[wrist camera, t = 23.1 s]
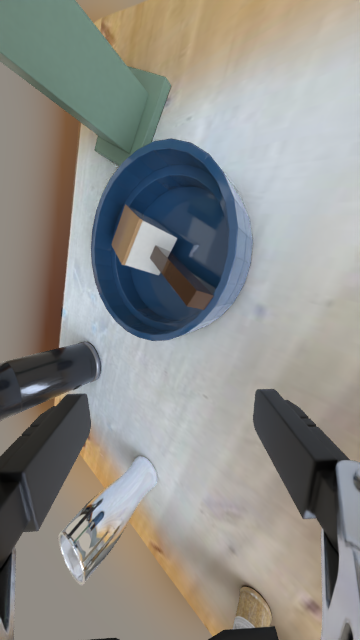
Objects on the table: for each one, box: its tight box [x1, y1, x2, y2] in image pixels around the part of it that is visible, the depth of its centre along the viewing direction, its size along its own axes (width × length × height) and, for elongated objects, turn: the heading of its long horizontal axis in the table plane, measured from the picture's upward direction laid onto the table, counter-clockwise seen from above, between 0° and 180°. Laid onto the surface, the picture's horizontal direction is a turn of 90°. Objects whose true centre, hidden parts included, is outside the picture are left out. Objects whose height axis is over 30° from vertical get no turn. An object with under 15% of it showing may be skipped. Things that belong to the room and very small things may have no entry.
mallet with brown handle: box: [111, 204, 214, 310], centre depth 22 cm, size 16×6×5 cm, turn 54°
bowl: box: [91, 139, 253, 341], centre depth 25 cm, size 22×22×6 cm
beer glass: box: [59, 456, 158, 585], centre depth 32 cm, size 7×7×15 cm
